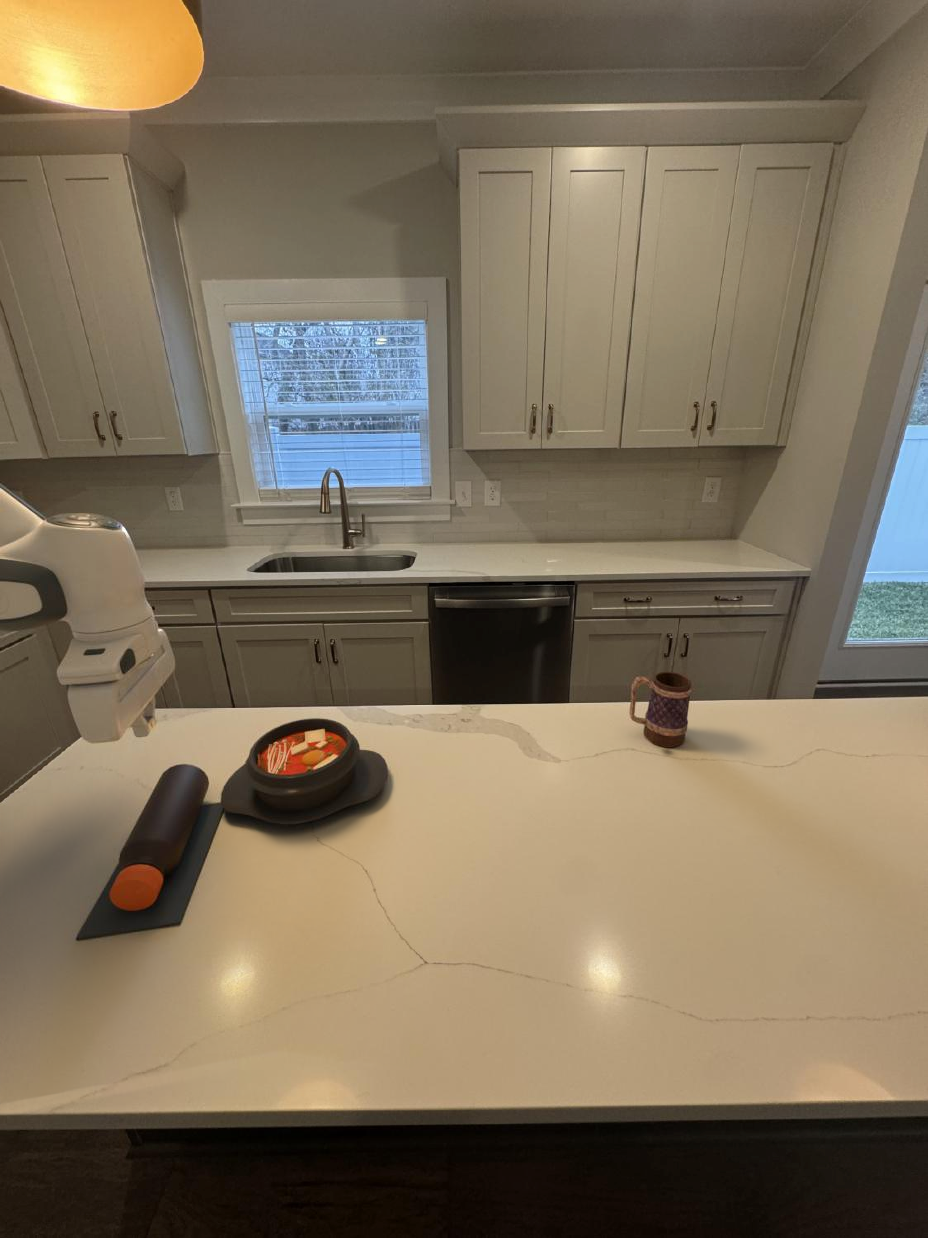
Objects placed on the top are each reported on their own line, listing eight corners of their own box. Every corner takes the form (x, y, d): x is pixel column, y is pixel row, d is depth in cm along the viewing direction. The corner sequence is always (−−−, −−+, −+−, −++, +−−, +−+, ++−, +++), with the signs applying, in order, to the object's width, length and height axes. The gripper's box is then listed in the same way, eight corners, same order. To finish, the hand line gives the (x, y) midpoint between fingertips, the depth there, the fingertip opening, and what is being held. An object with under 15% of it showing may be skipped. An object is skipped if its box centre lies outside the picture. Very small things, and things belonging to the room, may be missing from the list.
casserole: (204, 843, 70) (190, 794, 67) (244, 758, 87) (234, 717, 84) (386, 826, 72) (382, 778, 69) (390, 747, 89) (386, 706, 86)
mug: (678, 726, 94) (688, 668, 89) (690, 750, 87) (700, 688, 83) (621, 723, 95) (628, 666, 90) (628, 746, 88) (636, 686, 84)
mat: (76, 940, 57) (75, 938, 57) (148, 813, 75) (148, 811, 75) (180, 924, 59) (179, 922, 58) (226, 803, 77) (226, 801, 77)
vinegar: (168, 757, 74) (109, 867, 56) (216, 769, 76) (174, 879, 58) (154, 793, 76) (91, 911, 58) (201, 804, 78) (155, 921, 60)
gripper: (129, 613, 74) (152, 695, 80) (46, 680, 56) (83, 781, 61) (174, 610, 75) (194, 691, 81) (108, 674, 57) (140, 775, 62)
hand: (146, 731), depth 71 cm, fingers closed
